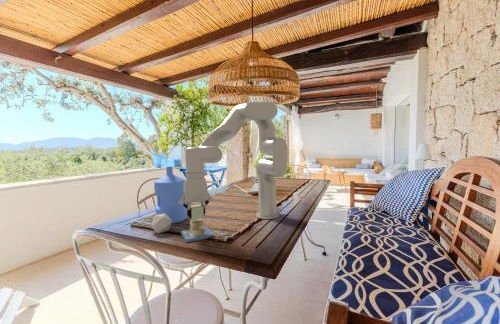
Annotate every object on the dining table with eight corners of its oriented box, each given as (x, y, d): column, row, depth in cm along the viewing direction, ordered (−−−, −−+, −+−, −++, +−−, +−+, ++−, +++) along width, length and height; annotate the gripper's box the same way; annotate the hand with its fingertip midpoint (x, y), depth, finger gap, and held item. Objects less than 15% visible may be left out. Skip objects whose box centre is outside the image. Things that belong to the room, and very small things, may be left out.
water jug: (191, 215, 136) (189, 165, 134) (180, 225, 121) (178, 168, 118) (164, 214, 138) (161, 165, 135) (150, 224, 122) (147, 168, 120)
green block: (200, 215, 110) (200, 204, 110) (203, 218, 106) (203, 207, 106) (189, 217, 108) (188, 205, 108) (192, 220, 104) (191, 208, 103)
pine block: (201, 229, 111) (200, 218, 111) (204, 233, 107) (204, 222, 106) (190, 231, 109) (189, 220, 108) (193, 235, 104) (192, 224, 104)
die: (168, 227, 119) (154, 213, 117) (178, 221, 115) (165, 206, 113) (158, 239, 112) (143, 224, 110) (168, 233, 108) (153, 218, 106)
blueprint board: (206, 228, 115) (206, 226, 115) (214, 236, 106) (214, 233, 106) (180, 233, 110) (180, 230, 110) (186, 242, 100) (186, 239, 100)
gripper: (211, 173, 113) (212, 211, 114) (173, 176, 105) (174, 217, 106) (216, 175, 106) (217, 216, 108) (176, 178, 98) (178, 222, 100)
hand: (196, 216), depth 107 cm, fingers closed on green block, 4 cm apart
